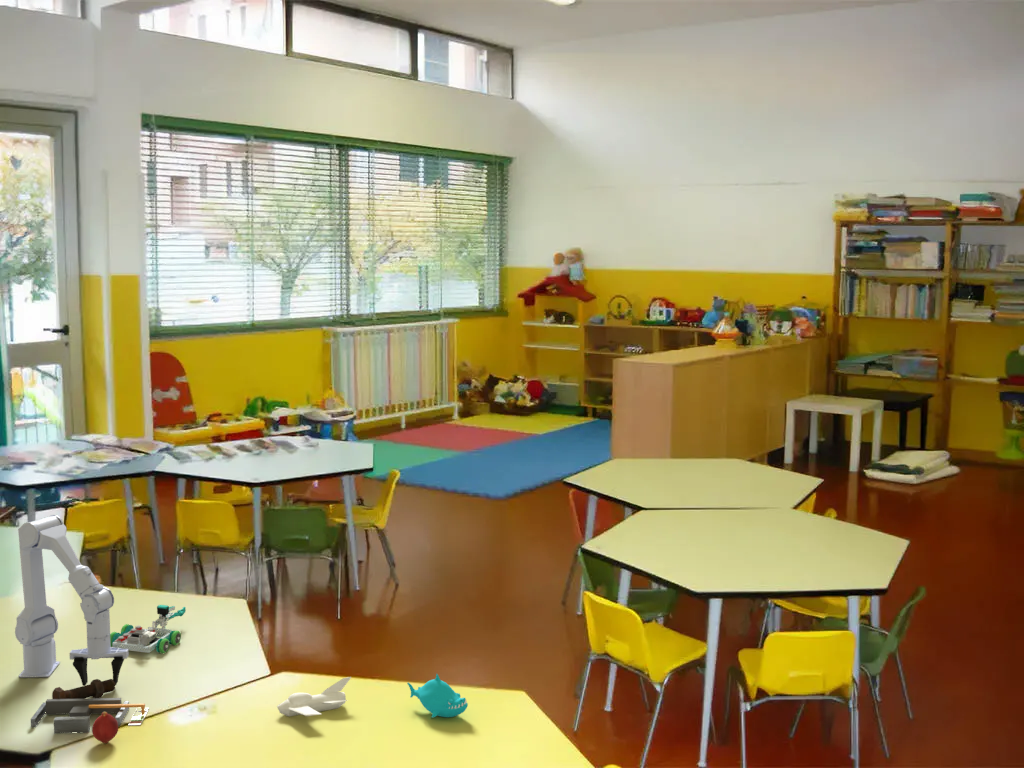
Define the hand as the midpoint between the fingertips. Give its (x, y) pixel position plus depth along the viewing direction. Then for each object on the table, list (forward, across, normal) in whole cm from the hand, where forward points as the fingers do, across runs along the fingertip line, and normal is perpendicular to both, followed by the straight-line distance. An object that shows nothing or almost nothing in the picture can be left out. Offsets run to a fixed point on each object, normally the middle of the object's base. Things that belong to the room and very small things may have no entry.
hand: (100, 683), depth 277 cm
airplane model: (+2, +58, -15) cm, 59 cm away
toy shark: (+2, +88, -18) cm, 90 cm away
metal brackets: (+1, +2, -18) cm, 18 cm away
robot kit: (+2, +6, +34) cm, 34 cm away
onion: (+2, +9, -30) cm, 31 cm away
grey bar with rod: (+1, +3, -16) cm, 17 cm away
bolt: (+2, -2, -7) cm, 7 cm away
